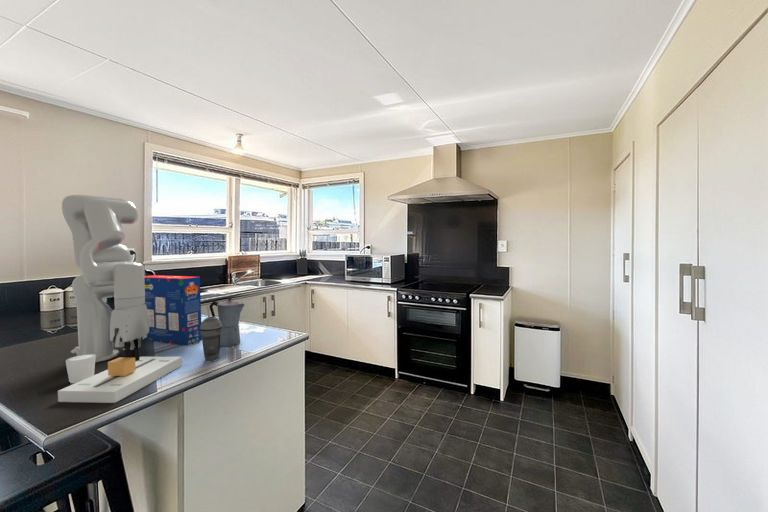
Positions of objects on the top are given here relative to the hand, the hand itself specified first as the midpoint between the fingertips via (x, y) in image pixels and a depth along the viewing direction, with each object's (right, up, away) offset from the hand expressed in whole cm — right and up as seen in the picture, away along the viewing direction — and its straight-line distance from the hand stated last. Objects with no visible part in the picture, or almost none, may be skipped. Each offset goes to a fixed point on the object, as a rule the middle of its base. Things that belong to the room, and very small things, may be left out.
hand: (132, 360), depth 100 cm
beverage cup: (+16, -5, +17) cm, 23 cm away
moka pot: (+13, -4, +35) cm, 37 cm away
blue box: (-16, -5, +41) cm, 44 cm away
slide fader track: (0, -6, -2) cm, 6 cm away
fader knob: (0, -2, -4) cm, 4 cm away
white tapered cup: (-16, -6, 0) cm, 17 cm away
